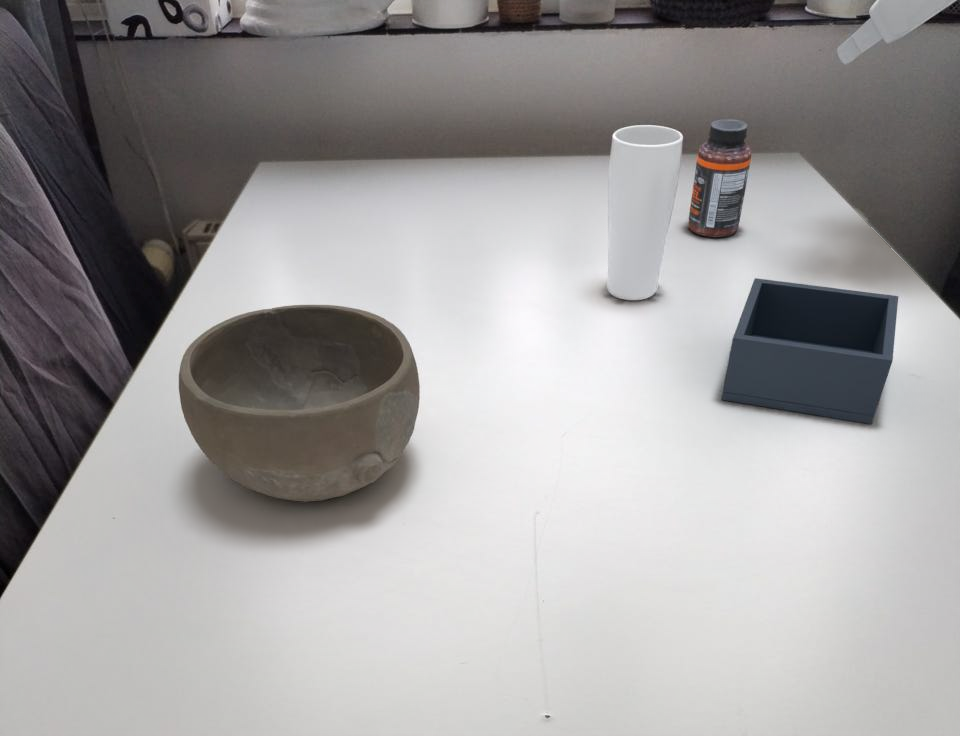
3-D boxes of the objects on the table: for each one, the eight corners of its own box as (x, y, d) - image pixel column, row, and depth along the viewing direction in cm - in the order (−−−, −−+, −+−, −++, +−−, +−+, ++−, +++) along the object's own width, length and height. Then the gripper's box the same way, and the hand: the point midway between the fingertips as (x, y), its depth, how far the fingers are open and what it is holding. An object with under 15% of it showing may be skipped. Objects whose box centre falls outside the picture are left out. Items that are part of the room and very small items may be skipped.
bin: (742, 337, 87) (754, 277, 82) (879, 356, 83) (898, 295, 79) (721, 400, 78) (732, 337, 74) (871, 424, 75) (892, 360, 71)
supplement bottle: (681, 221, 108) (695, 117, 100) (729, 218, 108) (746, 114, 101) (694, 240, 104) (710, 133, 96) (744, 237, 104) (764, 130, 96)
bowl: (437, 517, 67) (429, 397, 60) (196, 545, 65) (159, 424, 58) (412, 401, 79) (403, 290, 72) (208, 422, 77) (179, 310, 70)
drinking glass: (646, 274, 97) (664, 121, 87) (675, 299, 93) (697, 141, 82) (589, 284, 96) (600, 129, 85) (615, 309, 91) (630, 149, 81)
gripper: (992, -119, 84) (857, -1, 95) (961, -95, 72) (810, 38, 82) (1024, -57, 86) (888, 52, 96) (999, -23, 73) (846, 99, 84)
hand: (852, 46), depth 89 cm, fingers open, 8 cm apart
